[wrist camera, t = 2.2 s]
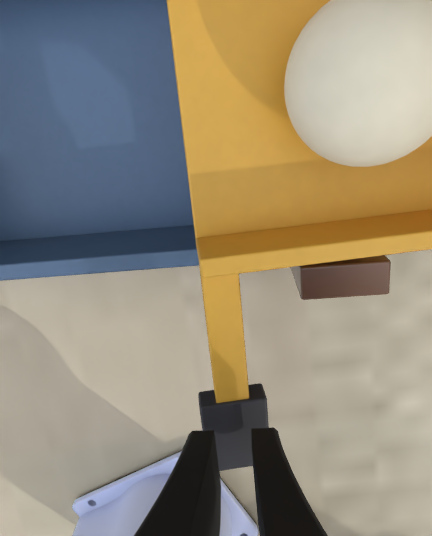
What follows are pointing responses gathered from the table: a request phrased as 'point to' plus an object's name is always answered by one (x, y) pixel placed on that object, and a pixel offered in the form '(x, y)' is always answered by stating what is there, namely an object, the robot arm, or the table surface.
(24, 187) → the bin
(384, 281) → the dish stand
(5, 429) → the table surface
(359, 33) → the ball cream
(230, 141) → the yellow tray
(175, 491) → the robot arm
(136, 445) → the table surface
